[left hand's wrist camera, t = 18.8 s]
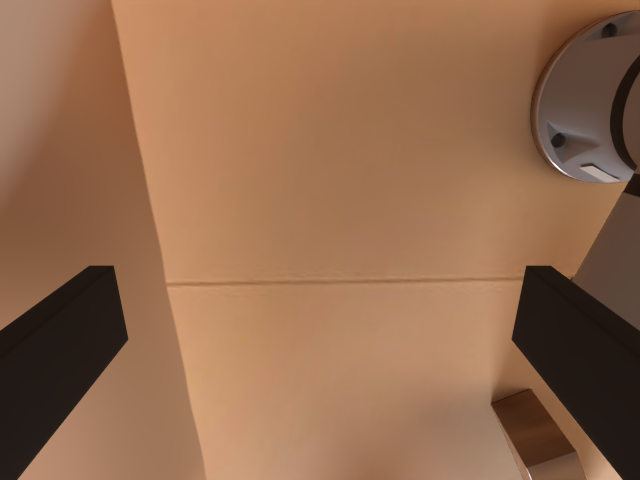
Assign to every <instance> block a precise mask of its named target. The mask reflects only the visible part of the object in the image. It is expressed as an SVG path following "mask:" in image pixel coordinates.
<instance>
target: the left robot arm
mask: <svg viewBox="0 0 640 480" xmlns="http://www.w3.org/2000/svg"><path fill="white" fill-rule="evenodd" d="M530 122H531V130H532V135H533V139H534V142H535V145H536V147H537V149H538V151H539V153H540V154H541V156H542V157H543V158H544V160H545V161H546V162H547V163H548V164H549V165H550V166H551V167H552V168H554V169H555V170H557V171H558V172H560V173H562V174H564V175H566V176H568V177H571V178H574V179H577V180H581V181H585V182H590V183H619V182H626V181H629V182H628V184H627V186H626V188H625V190H624V191H623V192H622V194H621V195H620V197H619V199H618V201H617V203H616V204H615V206H614V208H613V210H612V211H611V213H610V215H609V217H608V218H607V220H606V222H605V224H604V225H603V227H602V229H601V231H600V233H599V234H598V236H597V238H596V240H595V241H594V243H593V245H592V247H591V248H590V250H589V252H588V254H587V256H586V257H585V259H584V261H583V263H582V264H581V266H580V268H579V270H578V271H577V273H576V275H575V276H574V277H572V278H571V279H570V280H569V279H568V278H567V277H565V276H564V275H563V274H561V273H560V272H558V271H557V270H556V269H554V268H553V267H552V266H526V270H525V275H524V280H523V285H522V290H521V295H520V300H519V305H518V310H517V315H516V320H515V325H514V330H513V335H512V341H513V342H514V343H515V344H516V346H517V347H518V348H519V349H520V351H521V352H522V353H523V354H524V356H525V357H526V358H527V359H528V361H529V362H530V363H531V365H532V366H533V367H534V368H535V370H536V371H537V372H538V373H539V375H540V376H541V377H542V378H543V380H544V381H545V382H546V383H547V385H548V386H549V387H550V389H551V390H552V391H553V392H554V394H555V395H556V396H557V397H558V399H559V400H560V401H561V402H562V404H563V405H564V406H565V407H566V409H567V410H568V411H569V412H570V414H571V415H572V416H573V418H574V419H575V420H576V421H577V423H578V424H579V425H580V426H581V428H582V429H583V430H584V431H585V433H586V434H587V435H588V436H589V438H590V439H591V440H592V441H593V443H594V444H595V445H596V447H597V448H598V449H599V450H600V452H601V453H602V454H603V455H604V457H605V458H606V459H607V460H608V462H609V463H610V464H611V465H612V467H613V468H614V469H615V471H616V472H617V473H618V474H619V476H620V477H621V478H622V479H623V480H640V10H635V11H628V12H623V13H620V14H616V15H613V16H609V17H606V18H603V19H601V20H598V21H596V22H594V23H592V24H590V25H588V26H586V27H585V28H583V29H581V30H580V31H578V32H577V33H576V34H574V35H573V36H572V37H571V38H570V39H568V40H567V41H566V42H565V43H564V44H563V45H562V46H561V47H560V48H559V49H558V50H557V52H556V53H555V54H554V55H553V57H552V58H551V59H550V61H549V62H548V64H547V65H546V67H545V69H544V70H543V72H542V74H541V76H540V78H539V80H538V83H537V86H536V88H535V92H534V95H533V99H532V104H531V117H530ZM631 194H632V195H631ZM638 196H639V197H638ZM127 341H128V335H127V330H126V325H125V320H124V315H123V310H122V305H121V300H120V295H119V290H118V285H117V280H116V275H115V270H114V266H89V267H87V268H86V269H84V270H83V271H82V272H80V273H79V274H77V275H76V276H75V277H73V278H72V279H71V280H69V281H68V282H67V283H65V284H64V285H62V286H61V287H60V288H58V289H57V290H56V291H54V292H53V293H51V294H50V295H49V296H47V297H46V298H45V299H43V300H42V301H40V302H39V303H38V304H36V305H35V306H34V307H32V308H31V309H29V310H28V311H27V312H25V313H24V314H23V315H21V316H20V317H18V318H17V319H16V320H14V321H13V322H12V323H10V324H9V325H8V326H6V327H5V328H3V329H2V330H1V331H0V480H17V479H18V478H19V477H20V476H21V474H22V473H23V472H24V470H25V469H26V468H27V467H28V465H29V464H30V463H31V462H32V460H33V459H34V458H35V457H36V455H37V454H38V453H39V452H40V450H41V449H42V448H43V446H44V445H45V444H46V443H47V441H48V440H49V439H50V438H51V436H52V435H53V434H54V433H55V431H56V430H57V429H58V428H59V426H60V425H61V424H62V423H63V421H64V420H65V419H66V418H67V416H68V415H69V414H70V412H71V411H72V410H73V409H74V407H75V406H76V405H77V404H78V402H79V401H80V400H81V399H82V397H83V396H84V395H85V394H86V392H87V391H88V390H89V388H90V387H91V386H92V385H93V383H94V382H95V381H96V380H97V378H98V377H99V376H100V375H101V373H102V372H103V371H104V369H105V368H106V367H107V366H108V365H109V363H110V362H111V361H112V359H113V358H114V357H115V356H116V354H117V353H118V352H119V351H120V349H121V348H122V347H123V346H124V344H125V343H126V342H127Z"/></svg>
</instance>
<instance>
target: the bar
mask: <svg viewBox="0 0 640 480" xmlns="http://www.w3.org/2000/svg"><path fill="white" fill-rule="evenodd" d="M491 406H492V408H493V411H494V413H495V415H496V418H497V420H498V422H499V424H500V427H501V429H502V431H503V433H504V436H505V438H506V440H507V443H508V445H509V447H510V449H511V452H512V454H513V456H514V458H515V461H516V463H517V465H518V468H519V470H520V472H521V474H522V477H523V479H524V480H586V477H585V474H584V472H583V469H582V466H581V463H580V461H579V458H578V455H577V452H576V450H575V449H574V448H573V446H572V445H571V443H570V442H569V441H568V439H567V438H566V436H565V435H564V434H563V432H562V431H561V430H560V428H559V427H558V425H557V424H556V423H555V421H554V420H553V419H552V417H551V416H550V414H549V413H548V412H547V410H546V409H545V408H544V406H543V405H542V403H541V402H540V401H539V399H538V398H537V396H536V395H535V394H534V392H533V391H532V390H531V389H529V390H526V391H524V392H521V393H518V394H516V395H513V396H510V397H507V398H505V399H502V400H499V401H497V402H494V403H491Z"/></svg>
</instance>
